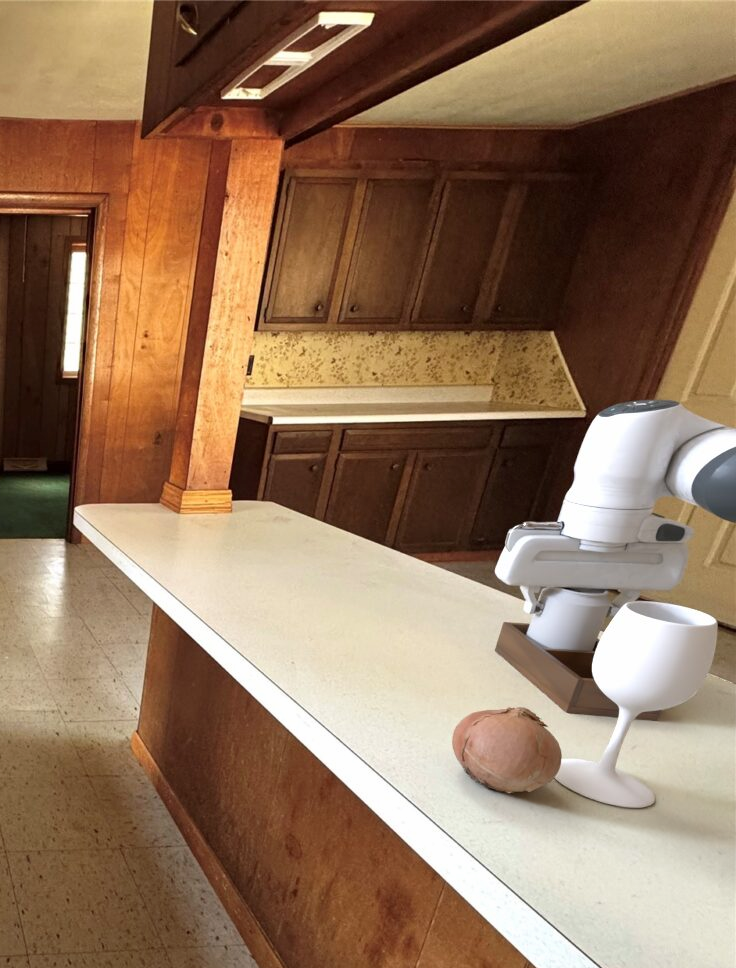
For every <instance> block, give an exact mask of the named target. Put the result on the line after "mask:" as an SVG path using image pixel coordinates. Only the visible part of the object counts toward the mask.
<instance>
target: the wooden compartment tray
mask: <svg viewBox="0 0 736 968" xmlns="http://www.w3.org/2000/svg"><path fill="white" fill-rule="evenodd" d="M529 625H530V623H526V622H525V623H524V622H511V621H510V622H509V621H508V622H507V621H503V622H502V625H501V629H500V632H499V635H498V638H497V641H496V645H495V648H494V651H495V653H497V654H498V655H499V656H500V657H501V658H503V659H504V660H505V661H506V662H507V663H509V664H510V665H511V666H512V667H513V668H514V669H515V670H516V671H517V672H519V673H520V674H521V675H522V676H523V677H524V678H525V679H527V680H528V681H529V682H530V683H531V684H533V685H534V686H535V687H536V688H537V689H538V690H540V692H541V693H543V694H544V695H545V696H547V698H549V699H550V700H551V701H552V702H553V703H554V704H556V705H557V706H558V707H559V708H560V709H561V710H563V711H564V712H565V713H568V714H579V715H588V716H589V715H590V716H602V717H613V718H618V717H619V707H618V705H617V704H616V703H615V702H613V701H612V700H611V699H610V698H608V697H607V696H606V695H605V694H604V693H603V692H602V691H601V690H600V688H599V687H598V685H597V684H596V682H595V680H594V677H593V673H592V663H593V658H594V655H595V651H596V649H597V646H598V643H599V641H600V639H599V638H597V640H596V643H595V645H594V648H593V651H582V650H568V649H553V648H542V647H540V646H539V645H538V644H536V643H535V642H534V641H532V640H531V639H530V638H528V637H527V636H526V634H527V631H528V628H529ZM662 711H663V710H656V711H646V712H642V713H640V714H638V715H637V716H636V718H635V719H634V720H644V721H656V722H657V721H658V722H659V719H660V717H661V714H662Z"/></svg>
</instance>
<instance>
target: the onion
mask: <svg viewBox="0 0 736 968" xmlns="http://www.w3.org/2000/svg"><path fill="white" fill-rule="evenodd" d="M547 728H549V726H548V724H546V723H544V721H542V718H540V717H539V716H538V715H537V714H536V713H535V712H533V711H532V710H531V709H529V708H526V707H522V706H517V707H510V706H508V707H507V708H502V709H486V710H480V711H475V712H472V713H470V714H468V715H466V716H465V717H463V719H461V720H460V721H459V723H458V724H457V725H456V726H455V728H454V729H453V732H452V736H451V737H452V738H451V745H452V750H453V753H454V755H455V758H456V760H457V761H458V763H459V764H460V765H461V767H462V768H463V772H464V773H465V774H466V776H467V777H468V778H470V779H471V780H473V781H474V782H475V783H478V784H479V785H481V786H483V788H485V789H486V790H488V789H489V788H490V789H493V790H496V792H505V793H507V794H511V793H512V794H514V793H515V792H520V793H522V792H528V793H530V792H533V791H535V790H537V789H538V788H541V787H544V786H545V785H546V786H547V784H549V783H551V782H552V781H553V779H555V778H554V777H555V776H556V775H557V773H558V771H559V769H560V766H561V759H563V757H562V756H563V755H562V749H561V746H560V743H559V741H558V740H557V738H556V737H555V736H554V735H553V734H552V733H551V732H550V731H549V730H548V729H547Z"/></svg>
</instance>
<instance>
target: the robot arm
mask: <svg viewBox="0 0 736 968" xmlns="http://www.w3.org/2000/svg"><path fill="white" fill-rule="evenodd" d="M573 473H574V475H573V476H574V477H573V482H572V484H571V486H570V488H569V490H567V492H566V494H565V496H564V499H563V501H562V505H561V508H560V512H559V515H558V518H557V521H531V520H530V521H523V522H522V523H521V524H517V525H515V526H513V527H512V528H510V529H509V530H508V532H507V535H506V538H505V542H504V548H503V550H502V551H501V553H500V555H499V558H498V560H497V563H496V565H495V569H494V574H495V576H496V577H497V579H499V580H500V581H501V582H503V583H504V584H505V585H508V586H514V587H515V586H517V587H518V586H519V589H520V591H521V594H522V595H523V598H524V600H525V601H524V605H523V612H525V613H526V614H528V615H533V614H541V613H542V609H543V607H544V604H543V603H542V602H540V601H539V600H538V599H537V596H536V595H535V594H540V592H541V588H542V587H543V588H546V587H568V588H594V589H607V590H617V592H618V593H619V594H618V595H617V596H616V597H615V598H614V599H613V600H612V601H611V604H610V607H609V610H608V612H607V615H606V617H605V618H610V619H611V618H612V619H613V618H614V617H615V615H616V614H617V613H618V612H619V610H620V609H621V608H622V607H623V606H624V605H625V604H626V603H629V602H634V601H637V600H638V599H639V598H640V596H641V594H642V592H643V591H648V592H649V591H650V592H652V591H654V592H670V591H672V590H674V589H675V588H676V587H677V586H679V585H680V584H681V583H682V580H683V578H684V575H685V572H686V569H687V566H688V562H689V558H690V549H689V546H688V545H687V544H685V543H689V542H690V541H691V540H692V539H693V537H694V535H695V529H694V528H693V527H691V526H690V525H687V524H685V523H683V522H679V521H677V520H675V519H671V518H668V517H665V516H663V515H662V514H658V513H655V512H653V511H654V508H655V505H656V502H657V501H658V500H659V499H661V498H665V497H666V498H667V497H669V498H671V497H672V498H676V499H678V500H680V501H682V502H685V503H688V504H690V505H693V506H696V507H699V508H701V509H703V510H704V511H707V512H709V513H710V514H712V515H714V516H716V517H717V518H720V519H721V520H724V521H726V522H730V523H734V524H736V427H732V426H728V425H725V424H722V423H719V422H716V421H712V420H710V419H707V418H705V417H702V416H700V415H699V414H696V413H694V412H692V411H691V410H688V409H687V408H686V407H684V406H683V404H682V403H681V402H680V401H677V400H672V399H662V398H661V399H659V398H658V399H657V398H655V399H640V400H631V401H625V402H620V403H616V404H613V405H611V406H608V407H606V408H604V409H602V410H601V411H600V412H599V413H598V414H597V415H596V416H595V417H594V419H593V420H592V422H591V423H590V425H589V427H588V429H587V431H586V433H585V436H584V438H583V441H582V442H581V445H580V448H579V451H578V454H577V457H576V459H575V463H574V466H573Z"/></svg>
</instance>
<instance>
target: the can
mask: <svg viewBox="0 0 736 968" xmlns="http://www.w3.org/2000/svg"><path fill="white" fill-rule="evenodd" d="M607 595H609V589H594V588H568V587H543V588H542V589H541V590H540V592H539V596H538V599H537V600H539V601H540V602H542V603H543V604H544V607H543V609H542V613H541V614H532V616H531V620H530V622H529V624H530V625H529V628H528V631H527V634H526V636H527V637H528V638H530V639H531V640H532V641H534V642H535V643H536V644H538V645H539V646H540V647H542V648H553V649H568V650H582V651H593V648H594V645H595V643H596V640H597V638H598V637H599V635H600V632H601V630H602V627H603V624H604V622H605V620H606V618H607V617H606V615H607V612H608V610H609V607H610V604H611V602H612V601H611V600H610V598H609V597H608V596H607ZM598 639H599V638H598Z"/></svg>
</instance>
